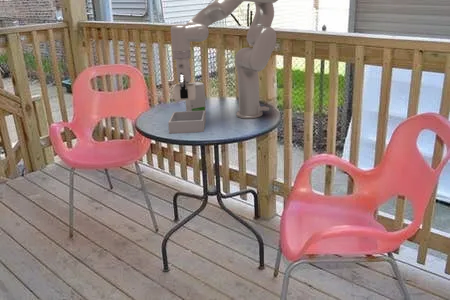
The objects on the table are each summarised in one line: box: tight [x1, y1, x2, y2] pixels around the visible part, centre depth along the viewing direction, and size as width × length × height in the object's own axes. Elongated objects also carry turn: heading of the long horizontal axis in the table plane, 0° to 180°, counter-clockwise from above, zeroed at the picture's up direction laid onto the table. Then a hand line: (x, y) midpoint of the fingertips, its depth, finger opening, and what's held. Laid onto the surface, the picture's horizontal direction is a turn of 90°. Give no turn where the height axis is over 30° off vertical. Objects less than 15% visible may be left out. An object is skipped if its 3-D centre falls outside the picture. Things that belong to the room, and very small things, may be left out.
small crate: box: [172, 82, 196, 102], centre depth 188 cm, size 9×6×6 cm, turn 89°
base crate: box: [167, 110, 207, 134], centre depth 193 cm, size 15×16×5 cm
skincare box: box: [185, 81, 207, 113], centre depth 208 cm, size 8×7×16 cm
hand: (185, 96), depth 188 cm, fingers closed on small crate, 6 cm apart
